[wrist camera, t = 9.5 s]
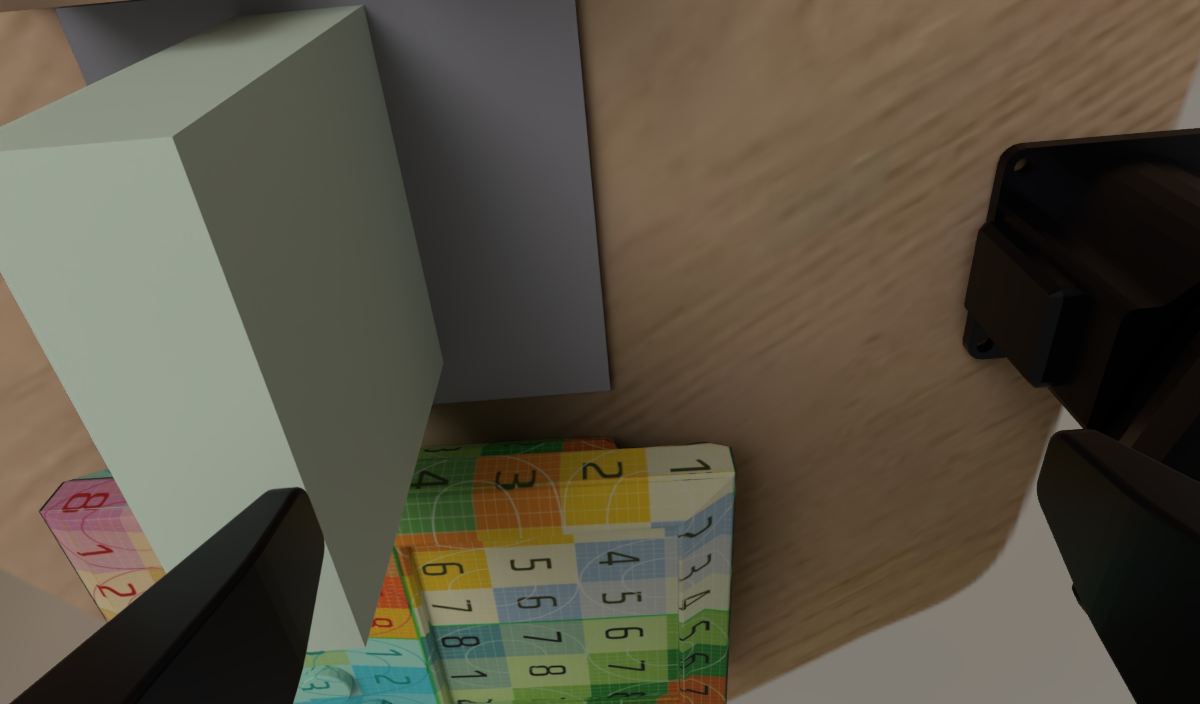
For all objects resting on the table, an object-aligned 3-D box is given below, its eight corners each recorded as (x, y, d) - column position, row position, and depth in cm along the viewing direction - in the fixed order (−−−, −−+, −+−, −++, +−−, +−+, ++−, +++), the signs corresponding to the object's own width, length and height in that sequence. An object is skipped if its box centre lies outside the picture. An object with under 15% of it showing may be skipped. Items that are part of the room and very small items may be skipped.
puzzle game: (18, 535, 22) (742, 493, 21) (105, 429, 26) (717, 392, 25) (170, 769, 28) (730, 739, 28) (221, 655, 32) (711, 628, 32)
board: (363, 4, 18) (171, 137, 10) (443, 363, 24) (365, 648, 15) (236, 16, 18) (-64, 156, 10) (345, 370, 24) (212, 658, 15)
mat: (571, -41, 18) (571, -40, 18) (610, 383, 24) (610, 390, 24) (63, 5, 18) (54, 8, 18) (234, 412, 25) (229, 419, 25)
